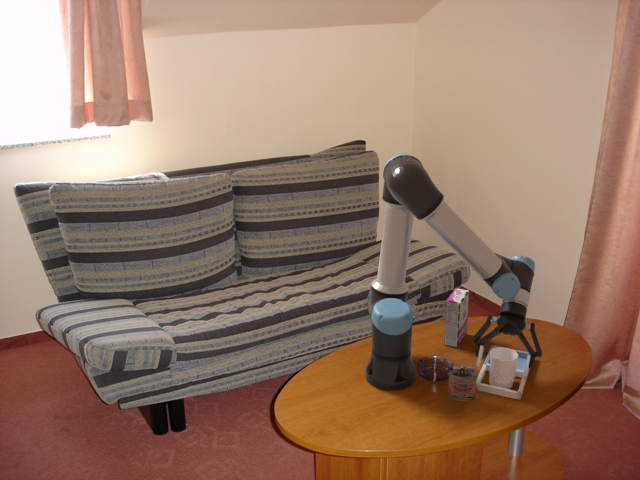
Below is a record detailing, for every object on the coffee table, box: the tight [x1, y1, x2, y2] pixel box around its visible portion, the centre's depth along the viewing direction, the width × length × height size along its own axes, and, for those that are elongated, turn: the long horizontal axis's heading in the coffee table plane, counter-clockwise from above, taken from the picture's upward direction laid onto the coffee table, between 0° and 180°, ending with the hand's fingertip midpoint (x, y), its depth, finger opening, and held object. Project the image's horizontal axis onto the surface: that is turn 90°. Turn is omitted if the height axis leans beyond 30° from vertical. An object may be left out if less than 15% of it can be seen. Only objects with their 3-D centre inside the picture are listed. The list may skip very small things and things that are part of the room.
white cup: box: [488, 346, 518, 389], centre depth 189 cm, size 8×8×10 cm
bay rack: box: [476, 344, 531, 401], centre depth 195 cm, size 13×25×2 cm, turn 155°
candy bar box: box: [443, 287, 470, 349], centre depth 213 cm, size 11×5×16 cm, turn 153°
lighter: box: [446, 364, 479, 402], centre depth 182 cm, size 8×3×10 cm, turn 82°
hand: (501, 372), depth 187 cm, fingers open, 13 cm apart
